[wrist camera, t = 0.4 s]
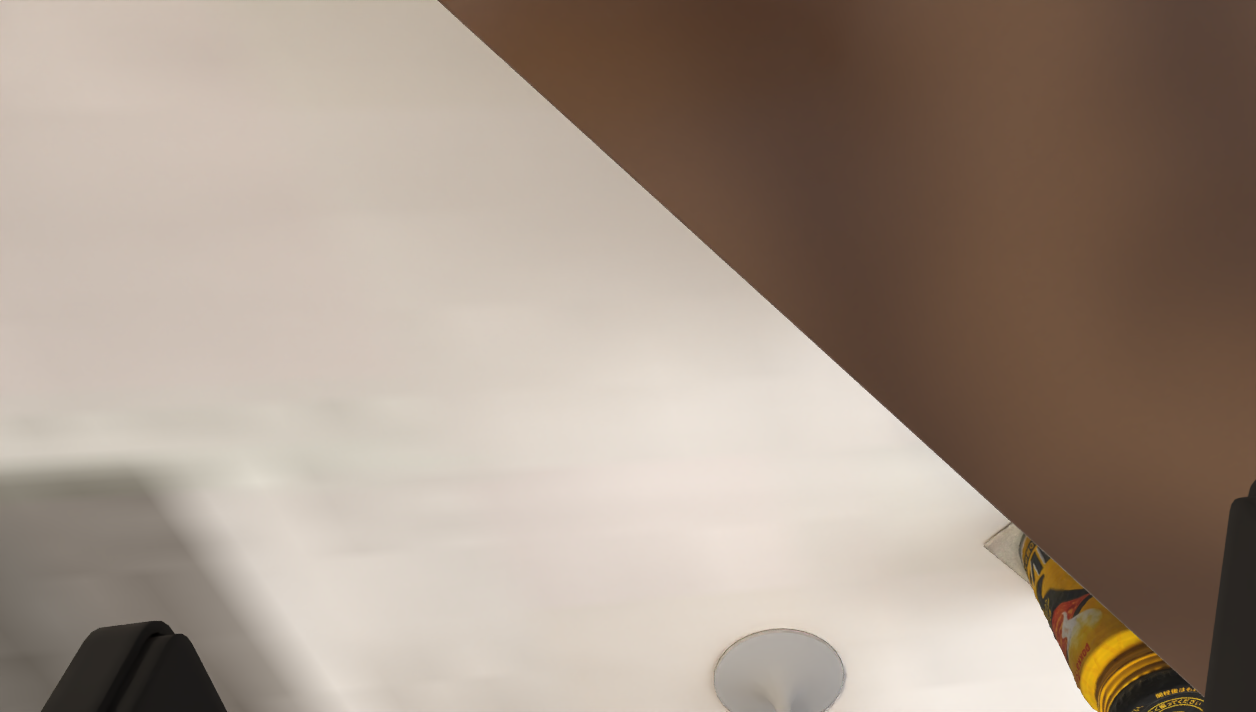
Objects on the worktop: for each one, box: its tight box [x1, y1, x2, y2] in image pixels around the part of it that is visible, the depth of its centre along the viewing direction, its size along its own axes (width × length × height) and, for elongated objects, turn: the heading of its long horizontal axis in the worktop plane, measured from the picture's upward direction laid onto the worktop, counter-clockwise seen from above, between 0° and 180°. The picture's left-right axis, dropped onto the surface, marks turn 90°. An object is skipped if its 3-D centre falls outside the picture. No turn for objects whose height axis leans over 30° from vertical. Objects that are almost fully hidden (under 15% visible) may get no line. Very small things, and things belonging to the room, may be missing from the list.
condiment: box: [984, 523, 1204, 712], centre depth 49 cm, size 7×8×12 cm
